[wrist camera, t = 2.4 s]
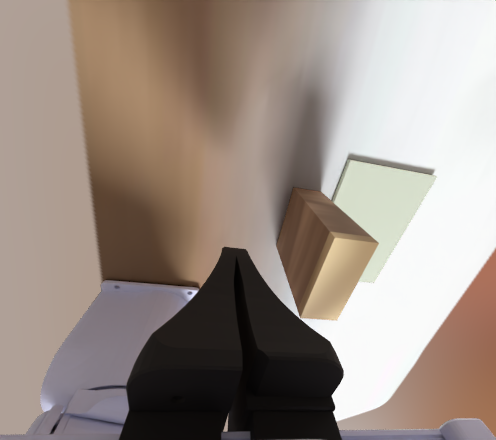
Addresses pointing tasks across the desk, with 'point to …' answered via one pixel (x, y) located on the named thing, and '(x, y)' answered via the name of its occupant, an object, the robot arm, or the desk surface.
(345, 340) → the desk surface
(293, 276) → the walnut slab
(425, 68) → the desk surface
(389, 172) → the sage mat
